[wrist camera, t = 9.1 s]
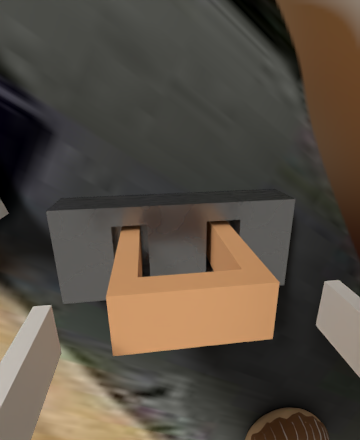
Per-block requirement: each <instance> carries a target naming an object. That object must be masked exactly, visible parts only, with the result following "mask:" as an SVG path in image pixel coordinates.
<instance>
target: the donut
mask: <svg viewBox="0 0 360 440" xmlns="http://www.w3.org/2000/svg"><path fill="white" fill-rule="evenodd" d="M245 440H329V434H328V431H327V429H326V427H325V426H324V424H323V423H322V422H321V421H320V420H319V419H318V418H317V417H316V416H315V415H313V414H312V413H310V412H308V411H306V410H304V409H300V408H291V407H287V408H280V409H277V410H274V411H271V412H269V413H267V414H265V415H263V416H262V417H261V418H259V419H258V420H257V421H256V422H255V423H254V424H253V425H252V426H251V428H250V429H249V431H248V433H247V435H246V438H245Z"/></svg>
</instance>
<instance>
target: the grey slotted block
mask: <svg viewBox="0 0 360 440" xmlns="http://www.w3.org/2000/svg"><path fill="white" fill-rule="evenodd" d="M294 205H295V199H294V198H292V197H290V196H288V195H286V194H284V193H282V192H279V191H277V190H275V189H265V190H242V191H219V192H196V193H173V194H150V195H127V196H104V197H81V198H61V199H59V200H58V201H57V202H56V203H55V204H54V205H52V206H51V207H50V208H49V209H48V210H47V211H46V214H47V219H48V225H49V230H50V236H51V241H52V247H53V252H54V257H55V263H56V268H57V274H58V279H59V284H60V290H61V295H62V301H63V304H67V303H79V302H91V301H103V300H106V295H107V290H108V286H109V281H110V277H111V272H112V268H113V263H114V259H115V254H116V250H117V246H118V241H119V237H120V232H121V228H122V226H135V225H140V228H141V243H142V258H143V262H142V277H149V276H162V275H175V274H188V273H201V272H214V271H213V269H212V266H211V264H210V262H209V260H208V258H207V256H206V233H207V221H225V220H226V221H227V222H228V223H229V224H230V226H231V227H232V228H233V229H234V230H235V231H236V233H237V234H238V235H239V236H240V237H241V238H242V239H243V241H244V242H245V243H246V244H247V245H248V246H249V248H250V249H251V250H252V251H253V252H254V253H255V254H256V256H257V257H258V258H259V259H260V260H261V261H262V263H263V264H264V265H265V266H266V267H267V268H268V269H269V271H270V272H271V273H272V274H273V275H274V276H275V278H276V279H277V280H278V281H279V282H280V283H279V285H284V283H285V275H286V267H287V260H288V252H289V244H290V236H291V229H292V221H293V213H294Z"/></svg>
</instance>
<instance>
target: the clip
mask: <svg viewBox="0 0 360 440" xmlns="http://www.w3.org/2000/svg"><path fill="white" fill-rule="evenodd" d="M206 256H207V258H208V260H209V262H210V264H211V266H212V269H213V271H214V272H201V273H188V274H175V275H162V276H149V277H142V262H143V258H142V243H141V228H140V225H135V226H122V228H121V232H120V237H119V241H118V246H117V250H116V254H115V259H114V263H113V268H112V272H111V277H110V281H109V286H108V290H107V295H106V301H107V309H108V317H109V325H110V334H111V342H112V350H113V356H119V355H128V354H137V353H146V352H156V351H165V350H174V349H184V348H193V347H202V346H211V345H221V344H230V343H239V342H248V341H258V340H267V339H273V332H274V324H275V316H276V308H277V299H278V291H279V283H280V282H279V281H278V280H277V279H276V278H275V276H274V275H273V274H272V273H271V272H270V271H269V269H268V268H267V267H266V266H265V265H264V264H263V263H262V261H261V260H260V259H259V258H258V257H257V256H256V254H255V253H254V252H253V251H252V250H251V249H250V248H249V246H248V245H247V244H246V243H245V242H244V241H243V239H242V238H241V237H240V236H239V235H238V234H237V233H236V231H235V230H234V229H233V228H232V227H231V226H230V224H229V223H228V222H227V221H226V220H225V221H207V233H206Z"/></svg>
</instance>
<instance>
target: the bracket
mask: <svg viewBox="0 0 360 440" xmlns="http://www.w3.org/2000/svg"><path fill="white" fill-rule="evenodd" d="M7 214H9V212H8V211H7V209H6V207H5V206H4V204H3V202H2V201H1V199H0V219H1V218H3V217H4V216H6V215H7Z"/></svg>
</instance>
